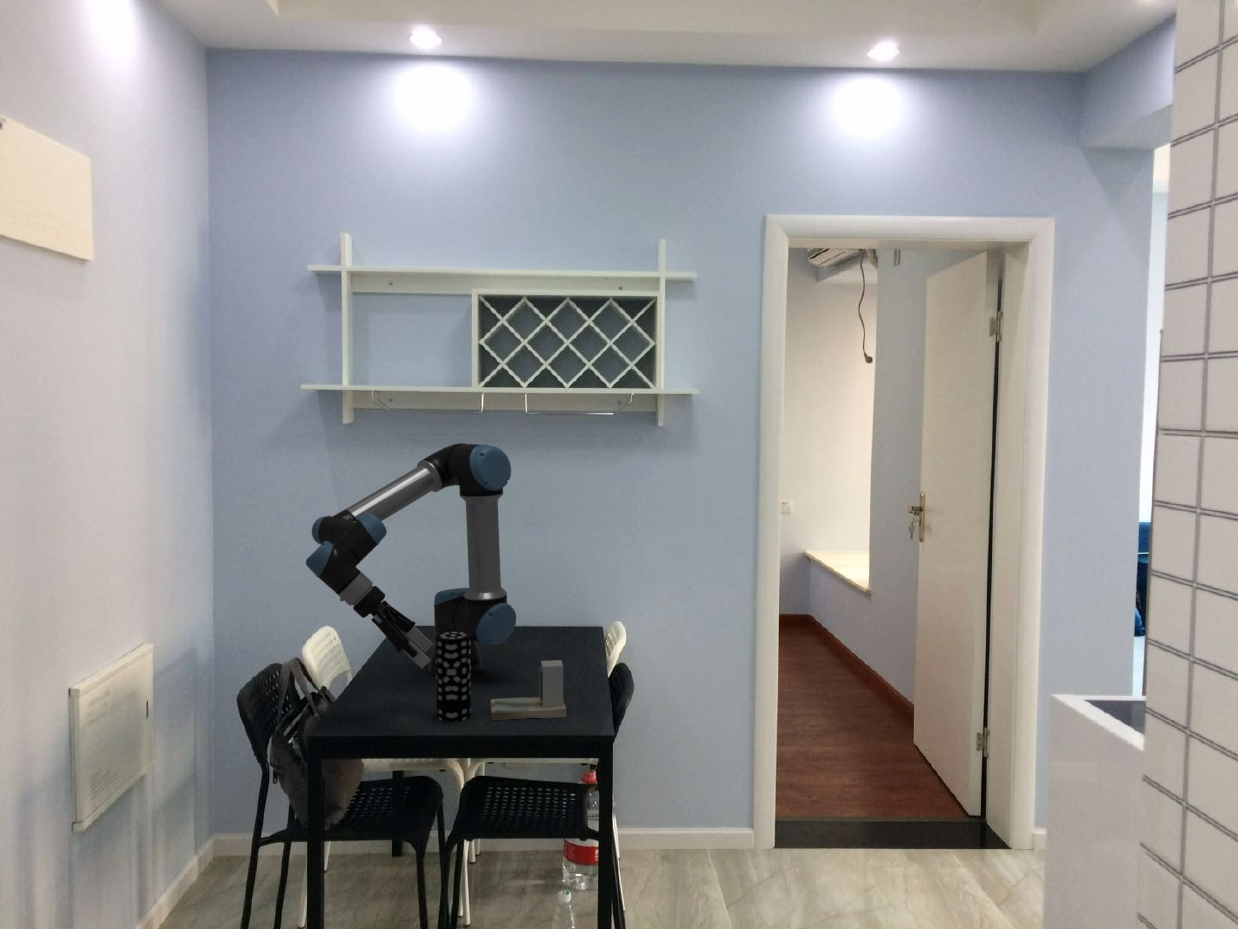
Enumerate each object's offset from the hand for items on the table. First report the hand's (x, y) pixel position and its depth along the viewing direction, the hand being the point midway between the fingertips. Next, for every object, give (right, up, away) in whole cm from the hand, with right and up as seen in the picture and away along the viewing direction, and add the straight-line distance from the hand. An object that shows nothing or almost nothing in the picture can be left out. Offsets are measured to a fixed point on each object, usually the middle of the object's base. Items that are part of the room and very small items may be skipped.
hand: (427, 656), depth 223 cm
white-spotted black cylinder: (+6, -15, +3) cm, 17 cm away
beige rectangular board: (+24, -15, +6) cm, 29 cm away
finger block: (+29, -13, +7) cm, 33 cm away
